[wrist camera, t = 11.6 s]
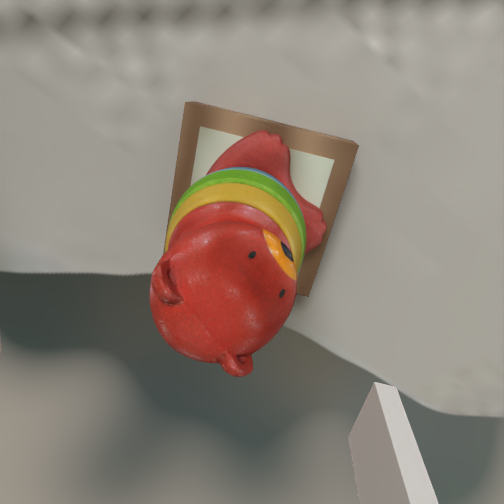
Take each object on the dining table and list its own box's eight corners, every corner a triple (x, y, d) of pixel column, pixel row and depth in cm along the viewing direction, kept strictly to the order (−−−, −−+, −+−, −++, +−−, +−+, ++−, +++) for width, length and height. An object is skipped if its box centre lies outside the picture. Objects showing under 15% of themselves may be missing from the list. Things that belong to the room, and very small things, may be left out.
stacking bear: (334, 235, 32) (376, 380, 16) (234, 282, 35) (181, 448, 19) (274, 119, 29) (248, 149, 13) (169, 181, 32) (37, 273, 15)
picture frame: (172, 247, 38) (161, 260, 35) (194, 101, 32) (184, 102, 29) (307, 282, 38) (308, 297, 35) (353, 141, 32) (359, 145, 29)
